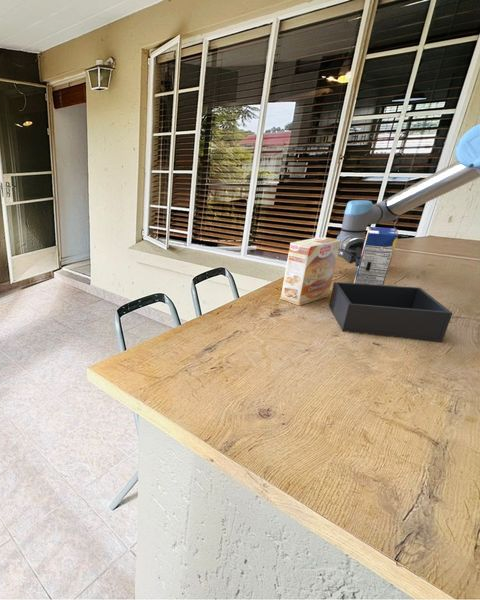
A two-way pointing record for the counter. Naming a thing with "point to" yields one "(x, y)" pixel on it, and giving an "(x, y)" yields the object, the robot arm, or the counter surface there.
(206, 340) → the counter surface
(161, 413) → the counter surface
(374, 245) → the beverage box
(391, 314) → the bin
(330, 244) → the coffeecake box
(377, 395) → the counter surface
